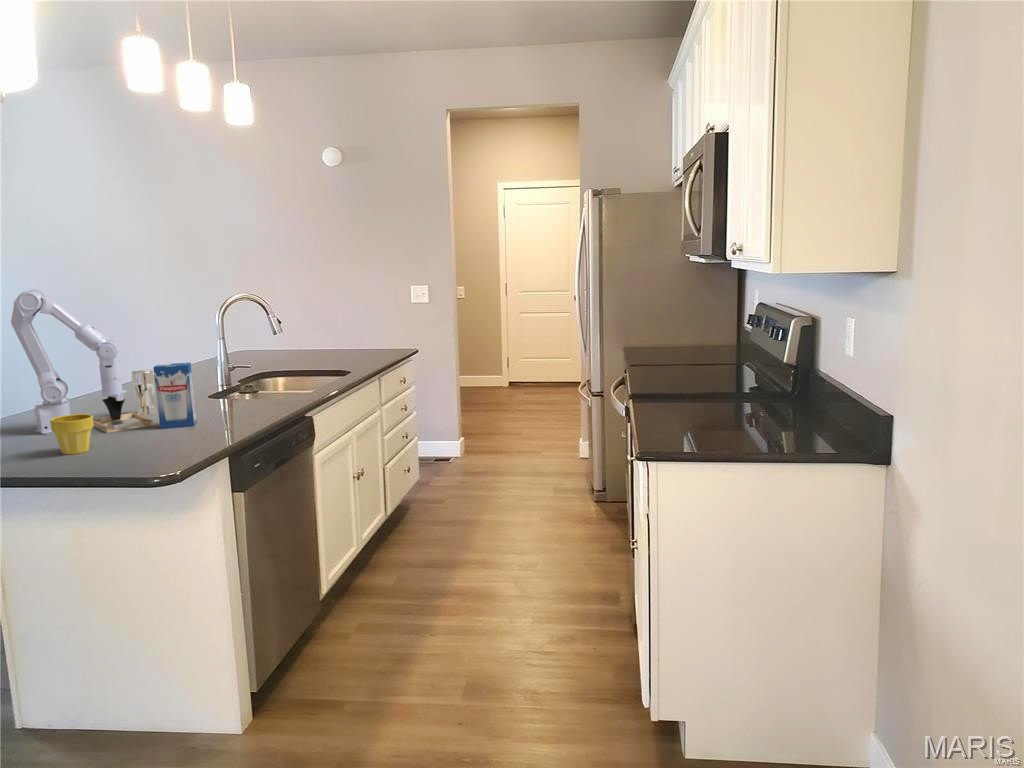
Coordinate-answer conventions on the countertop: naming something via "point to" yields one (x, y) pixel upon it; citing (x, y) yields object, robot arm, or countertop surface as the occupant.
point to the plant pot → (73, 432)
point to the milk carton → (175, 395)
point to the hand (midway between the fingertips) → (116, 419)
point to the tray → (102, 422)
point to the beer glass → (144, 391)
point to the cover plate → (124, 423)
